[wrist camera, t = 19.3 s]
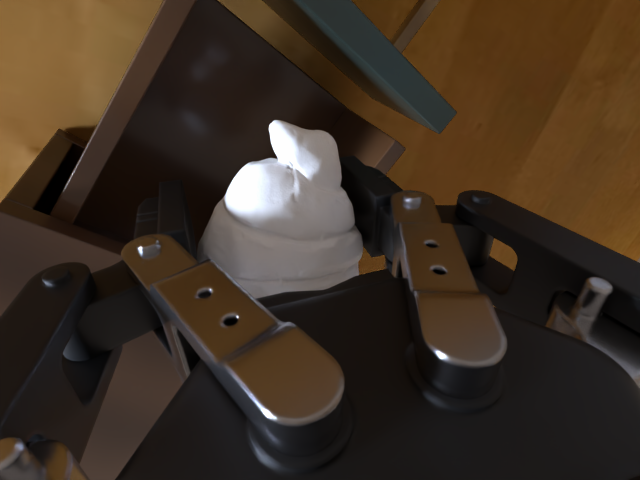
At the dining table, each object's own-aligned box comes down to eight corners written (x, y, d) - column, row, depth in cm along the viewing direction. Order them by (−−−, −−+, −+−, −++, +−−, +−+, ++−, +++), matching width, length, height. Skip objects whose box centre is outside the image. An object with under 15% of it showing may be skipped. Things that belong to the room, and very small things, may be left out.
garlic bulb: (354, 114, 14) (436, 169, 10) (322, 252, 17) (373, 341, 13) (199, 92, 12) (213, 149, 8) (192, 252, 15) (199, 358, 11)
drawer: (267, -249, 15) (332, -406, 9) (448, -6, 22) (553, -5, 16) (34, 204, 21) (-19, 290, 15) (236, 282, 28) (254, 362, 22)
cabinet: (59, 128, 20) (-6, 209, 13) (273, 234, 28) (312, 324, 20) (-58, 360, 25) (-155, 520, 17) (153, 397, 32) (148, 518, 25)
